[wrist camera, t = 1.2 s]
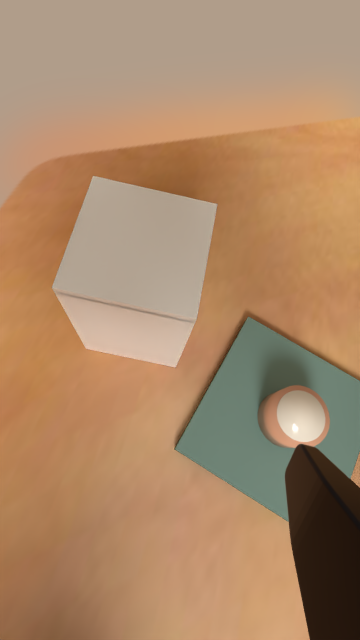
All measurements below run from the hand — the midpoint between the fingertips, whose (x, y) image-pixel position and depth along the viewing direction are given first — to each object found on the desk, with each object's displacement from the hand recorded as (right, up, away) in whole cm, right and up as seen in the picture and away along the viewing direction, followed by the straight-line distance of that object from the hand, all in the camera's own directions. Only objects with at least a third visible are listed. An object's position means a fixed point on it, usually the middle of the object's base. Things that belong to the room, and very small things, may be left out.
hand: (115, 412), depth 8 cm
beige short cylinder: (+8, -4, +13) cm, 16 cm away
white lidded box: (-1, +2, +15) cm, 15 cm away
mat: (+8, -4, +13) cm, 16 cm away
